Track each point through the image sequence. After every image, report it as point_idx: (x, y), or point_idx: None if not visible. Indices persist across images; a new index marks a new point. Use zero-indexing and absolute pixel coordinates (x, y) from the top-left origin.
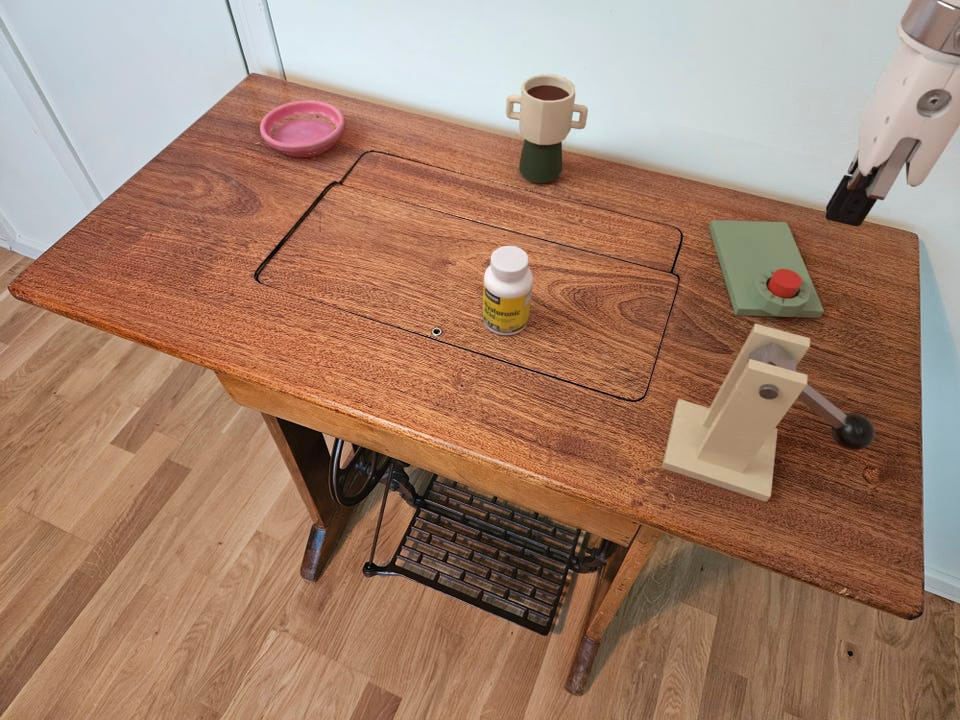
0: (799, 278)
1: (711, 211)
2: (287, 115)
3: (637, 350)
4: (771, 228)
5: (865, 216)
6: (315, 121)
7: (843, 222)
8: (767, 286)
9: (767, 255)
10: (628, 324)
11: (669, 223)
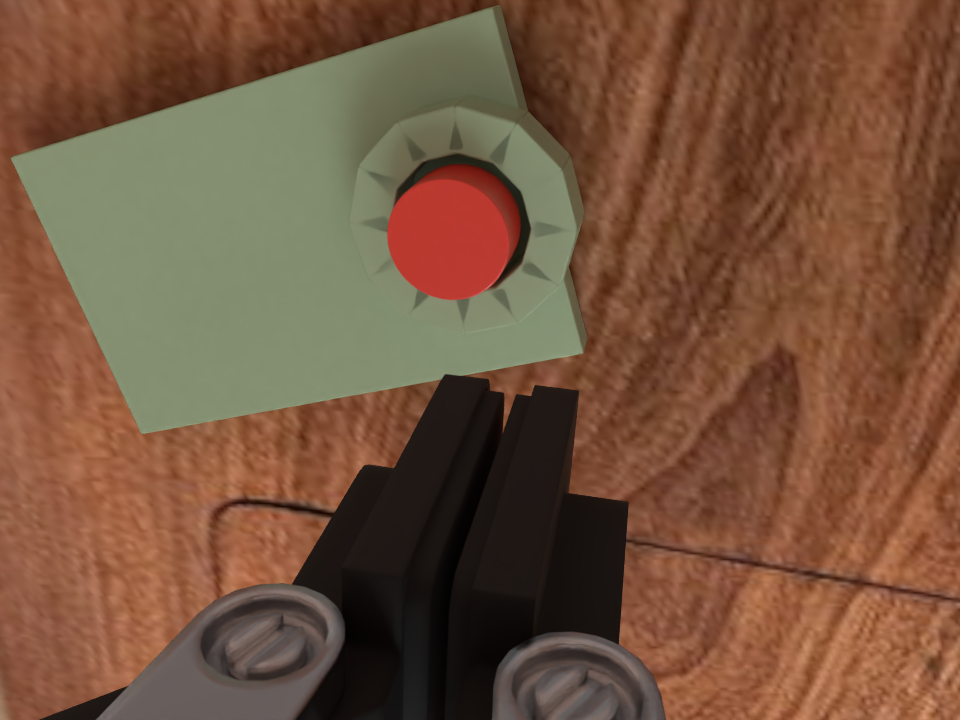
0: (430, 190)
1: (72, 407)
2: None
3: (839, 634)
4: (79, 221)
5: (567, 435)
6: None
7: (568, 491)
8: None
9: (243, 240)
10: (725, 655)
11: (201, 536)
